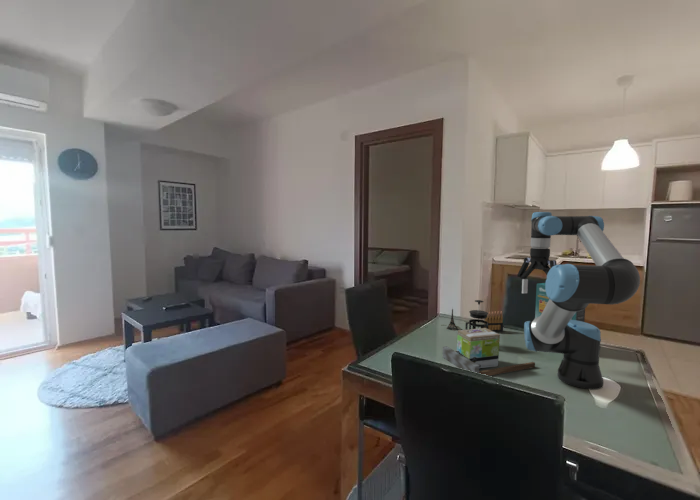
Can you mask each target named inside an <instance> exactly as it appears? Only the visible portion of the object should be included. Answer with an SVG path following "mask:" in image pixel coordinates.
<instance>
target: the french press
mask: <svg viewBox="0 0 700 500" xmlns="http://www.w3.org/2000/svg"><path fill="white" fill-rule="evenodd" d="M474 302H475V303H477V305H478V306H480V304H481V303H484V300H481V299H476V300H474ZM487 315H489V312H488V311H487V312H486V311H485V310H480V307H478V309H473V310H472V309H471V310H470V311H469V316H470V317H471V318H474V319H469V321H465V328H464V330H468V329H479V328H484V327H485V328H487V326H488V322H487V321H485V318H487ZM480 323H482V324H480ZM484 323H485V324H484Z"/></svg>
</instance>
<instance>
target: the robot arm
mask: <svg viewBox="0 0 700 500" xmlns="http://www.w3.org/2000/svg"><path fill="white" fill-rule="evenodd" d="M530 221H531V223H530V224H531V227H530V228H531V230H530V247H531V248H530V250H529V255H530V257H524V258H523V263H522V264H521V267H520V268H519V271H518V273H517V274H516V277H517V278H520V285H521V294H528V291H529V290H528V287H529V286H528V285H529V279H528V277H529V276H530V274H531V273H533V271H535V270H542V271H543V272H544V273H545V275H546V279H545V282H544V283H545V290H546V294H547V297H548V298H549V301H548V303H547V305H546V307H545V308H544V310H543V312H542V314H541V316H539V317H537V318H535V317H534V319H533V320H532V321H531V320H527V321H525V322H524V324H523V333H524V335H523V336H524V342H525V343H524V344H525V348H526V349H527V350H528V351H533V352H536V353H537V352H544V353H553V354H554V353H555V354H563V358H562V360H561V361H560V364H559V367H558V369H557V373H556V374H557V378H558V379H559V380H561V382H564V383H565V384H568V385H570V386H573V387H576V388H580V389H585V390H599V389H601V388H603V387H604V377H603V375H602V371H601V368H600V352H601V342H602V339H601V329H599V327H597V326H596V325H594V324H591V323H589V322H586V321H584V322H582V321H577V320H571V319H572V317H573V316H574V314H575V313H576V312H577V311H581V310H583V309H585V310H586V308H587V307H588V306H589V305H590V304H592V305H593V304H595V305H610V306H611V305H619V304H622V303H624V302H627V301H628V300H630V299H632V297H634V296H635V294H636V293H637V291H638V290H639V288H640V284H641V275H640V273H639V270H638V269H637V266H636V265H635V264H634V263H633V262H632V261H631V260H630V259H627V258H624V256H622V254H621V253H620V252H619V250H618V249H617V248H616V246H615V245H614V244H613V243H612V242H611V240H610V239H609V237H607V235H606V234H605V232H604V230H605V223H604V219H603V218H602V217H601V216H598V215H597V216H596V215H595V216H594V215H580V216H579V215H578V216H577V215H571V216H569V215H564V216H563V215H553V214H552V212H551V211H535V212H533V213H532V215H531V219H530ZM552 236H577V237H578V239H579V240H580V242H581V244H582V245H583V247H584V248H585V250H586V252H587V253H588V254H589V256H590V258H591V260H592V261H593V262H594V264H595V265H589V264H572V263H565V264H564V263H563V264H557V260H555V259H553V260H550V257H551V249H550V248H551V241H552V240H551V239H552V238H551V237H552Z"/></svg>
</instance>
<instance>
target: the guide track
mask: <svg viewBox="0 0 700 500" xmlns="http://www.w3.org/2000/svg"><path fill="white" fill-rule="evenodd" d="M442 359H445V360H446V361H448V362H449V363H451V364H452V365H454V366H455V367H456V368H458V369H460V368H462V369H466V370H470V371H473V372H477V373H481V374H486V375H489V376H495V375H500V374H506V373H510V372H511V373H512V372H518V371H523V370H527V369H532V368H533V369H534V368H536V362H534V361H529V362H523V363H519V364H518V363H517V364H513V365H507V366H500V367H494V368H491V369H485V370H480V368H479V365H477V364H476V363H474V362H472V361H470V360H469V359H467V358H465V357H464V356H462V355H460V354H459V353H457V350H454V349H452V348H450V347H448V346H442ZM489 376H488V377H489Z"/></svg>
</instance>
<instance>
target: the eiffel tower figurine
mask: <svg viewBox="0 0 700 500" xmlns="http://www.w3.org/2000/svg"><path fill="white" fill-rule="evenodd" d="M440 326H446V324H441V325H440ZM445 330H448V331H449V330H450V331H453V332H455V331H458V330H463V328H461V327H460V326H458V325H457V324H456V323H455V320H454V309H453V307H452V309H451V317H450V322H449V324H448V326H447V327H446V328H445Z"/></svg>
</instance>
